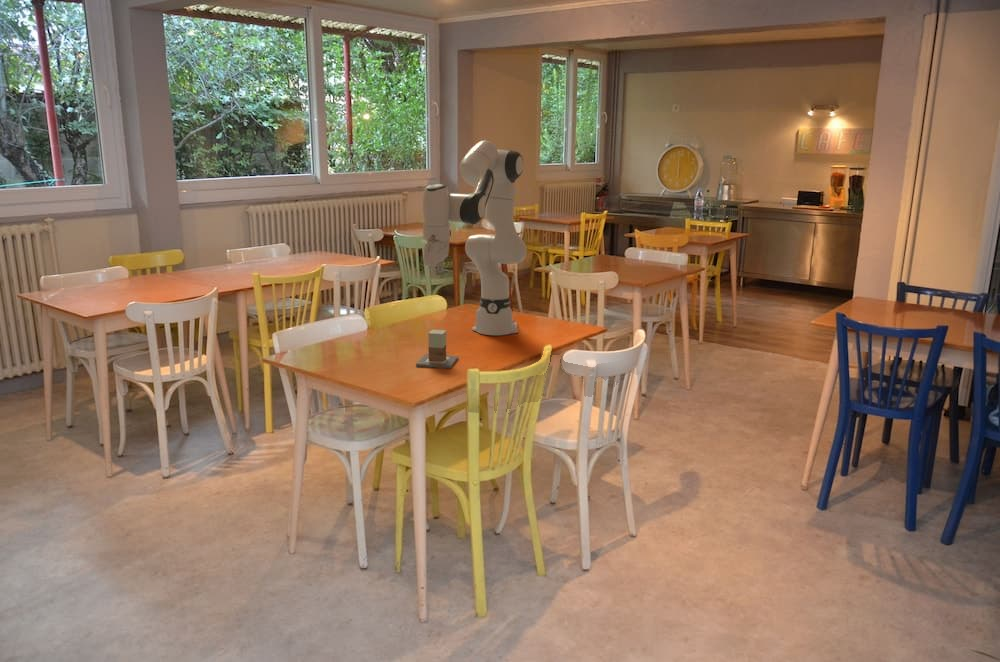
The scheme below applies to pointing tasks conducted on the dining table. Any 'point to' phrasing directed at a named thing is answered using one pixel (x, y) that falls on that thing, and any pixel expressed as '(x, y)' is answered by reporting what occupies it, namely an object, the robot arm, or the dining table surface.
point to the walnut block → (437, 354)
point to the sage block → (437, 338)
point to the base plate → (445, 364)
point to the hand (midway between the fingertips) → (436, 274)
